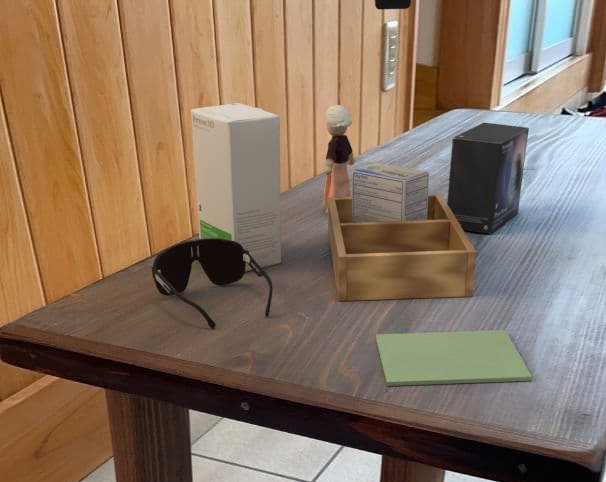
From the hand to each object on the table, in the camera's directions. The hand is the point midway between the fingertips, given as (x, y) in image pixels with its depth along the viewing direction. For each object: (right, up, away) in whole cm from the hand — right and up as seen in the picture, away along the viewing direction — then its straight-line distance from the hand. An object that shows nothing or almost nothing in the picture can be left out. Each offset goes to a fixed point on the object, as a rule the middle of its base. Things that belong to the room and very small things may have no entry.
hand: (390, 4), depth 81 cm
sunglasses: (-17, -28, +5) cm, 33 cm away
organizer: (+2, -20, +14) cm, 25 cm away
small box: (+14, -11, +26) cm, 32 cm away
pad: (+4, -35, -7) cm, 36 cm away
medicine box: (+2, -17, +19) cm, 25 cm away
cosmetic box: (-15, -19, +16) cm, 30 cm away
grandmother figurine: (-4, -8, +32) cm, 33 cm away
